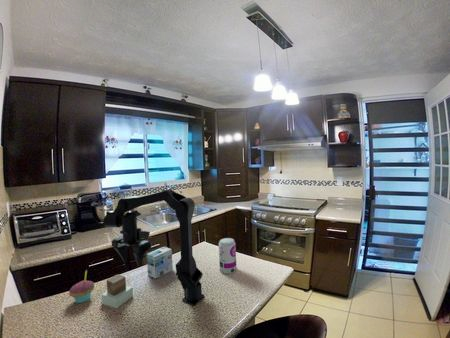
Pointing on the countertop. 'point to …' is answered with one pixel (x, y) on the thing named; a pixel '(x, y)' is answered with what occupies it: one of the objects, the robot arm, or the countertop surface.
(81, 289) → the cupcake
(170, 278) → the countertop surface
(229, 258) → the supplement can
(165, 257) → the light bulb box
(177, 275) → the robot arm
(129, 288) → the sage block
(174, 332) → the countertop surface
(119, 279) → the walnut cube
